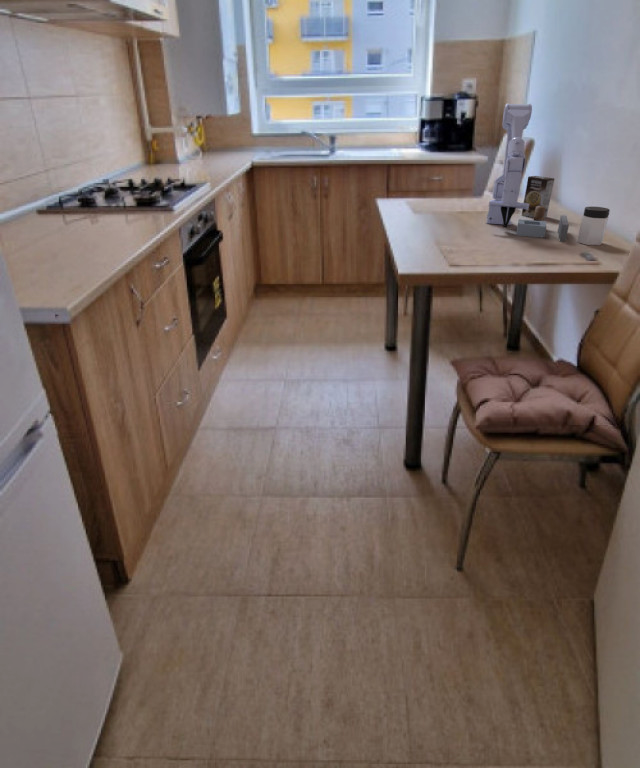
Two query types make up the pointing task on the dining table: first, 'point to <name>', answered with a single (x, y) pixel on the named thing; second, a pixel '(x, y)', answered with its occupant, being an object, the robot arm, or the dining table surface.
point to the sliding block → (531, 228)
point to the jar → (593, 225)
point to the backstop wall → (563, 228)
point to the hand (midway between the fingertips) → (505, 227)
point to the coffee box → (537, 194)
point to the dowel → (539, 213)
